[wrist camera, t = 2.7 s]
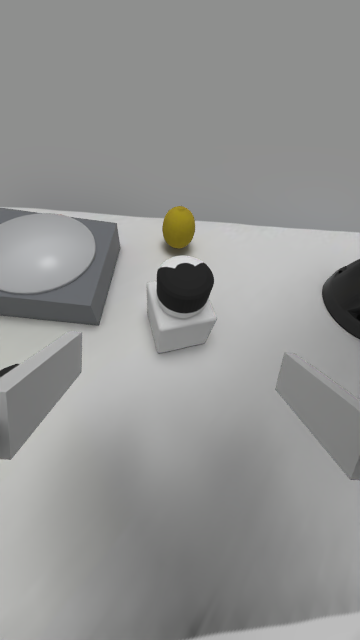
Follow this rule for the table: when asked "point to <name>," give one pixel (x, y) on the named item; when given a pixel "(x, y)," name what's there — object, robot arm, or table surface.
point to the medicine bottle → (180, 303)
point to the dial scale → (55, 266)
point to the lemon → (178, 227)
